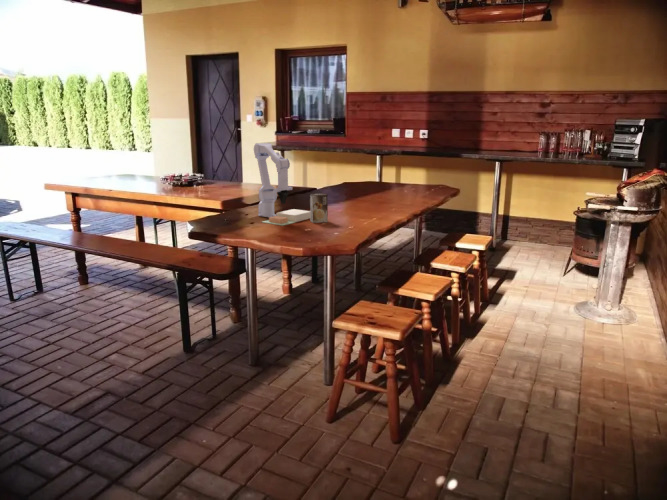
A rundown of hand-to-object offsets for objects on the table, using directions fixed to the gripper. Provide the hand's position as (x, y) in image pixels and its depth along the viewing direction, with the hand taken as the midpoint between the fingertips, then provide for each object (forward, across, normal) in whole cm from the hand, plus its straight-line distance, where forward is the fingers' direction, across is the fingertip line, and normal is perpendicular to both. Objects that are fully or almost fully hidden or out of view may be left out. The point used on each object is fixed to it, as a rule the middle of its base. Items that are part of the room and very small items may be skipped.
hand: (283, 203), depth 305 cm
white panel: (+10, +10, 0) cm, 14 cm away
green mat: (+10, -4, 0) cm, 11 cm away
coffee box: (+11, +12, -17) cm, 23 cm away
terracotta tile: (+9, -5, 0) cm, 10 cm away
